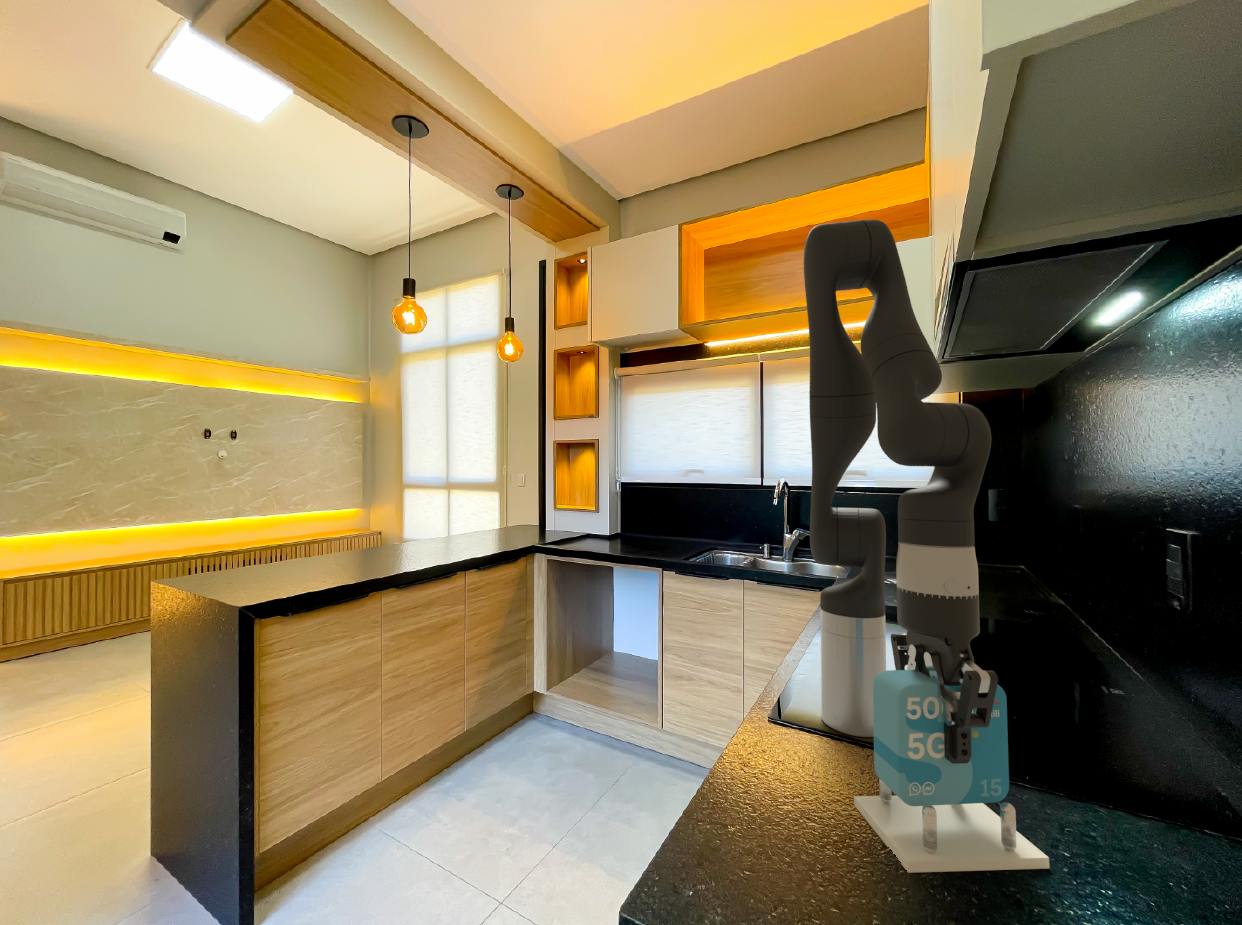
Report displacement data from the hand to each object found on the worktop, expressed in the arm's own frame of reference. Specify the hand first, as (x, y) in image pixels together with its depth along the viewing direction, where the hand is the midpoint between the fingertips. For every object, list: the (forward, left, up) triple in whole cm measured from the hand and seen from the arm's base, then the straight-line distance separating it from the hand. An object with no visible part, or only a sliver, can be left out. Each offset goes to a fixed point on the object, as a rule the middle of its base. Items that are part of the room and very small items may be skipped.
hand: (939, 747), depth 53 cm
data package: (0, 0, -5) cm, 5 cm away
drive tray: (0, 0, -9) cm, 9 cm away
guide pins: (0, 0, -9) cm, 9 cm away
